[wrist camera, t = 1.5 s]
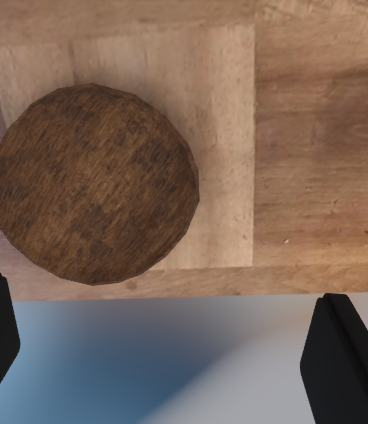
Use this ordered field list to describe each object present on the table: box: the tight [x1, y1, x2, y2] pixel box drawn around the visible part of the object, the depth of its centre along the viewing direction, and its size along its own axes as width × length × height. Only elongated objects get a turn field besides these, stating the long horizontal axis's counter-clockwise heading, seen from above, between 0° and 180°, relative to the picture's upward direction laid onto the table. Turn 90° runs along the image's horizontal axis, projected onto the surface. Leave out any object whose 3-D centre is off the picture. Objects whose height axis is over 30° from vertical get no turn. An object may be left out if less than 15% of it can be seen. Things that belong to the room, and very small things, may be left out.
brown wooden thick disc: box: [0, 83, 199, 286], centre depth 37 cm, size 20×22×5 cm
